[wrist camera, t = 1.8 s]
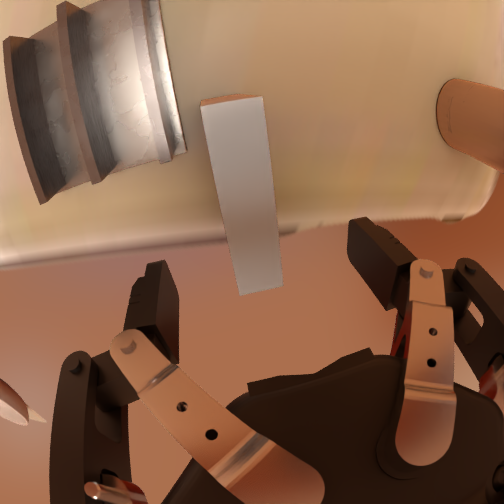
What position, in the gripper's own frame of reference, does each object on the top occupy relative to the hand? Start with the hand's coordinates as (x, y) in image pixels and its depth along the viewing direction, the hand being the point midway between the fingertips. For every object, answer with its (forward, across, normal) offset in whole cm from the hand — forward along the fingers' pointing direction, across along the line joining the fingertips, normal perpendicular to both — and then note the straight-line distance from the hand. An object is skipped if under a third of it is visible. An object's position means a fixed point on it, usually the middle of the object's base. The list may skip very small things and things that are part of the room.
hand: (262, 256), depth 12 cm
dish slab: (+14, 0, 0) cm, 14 cm away
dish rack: (+14, +10, -10) cm, 20 cm away
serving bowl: (+15, +66, +32) cm, 75 cm away
